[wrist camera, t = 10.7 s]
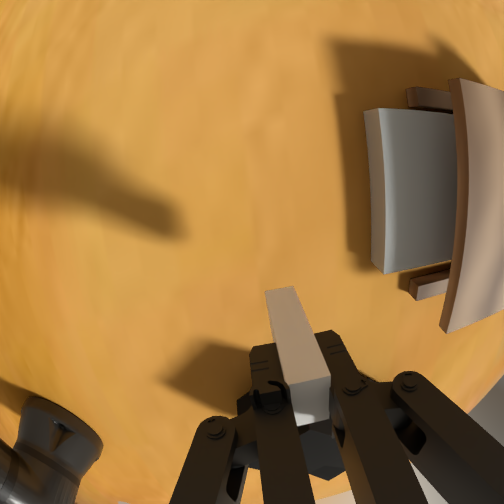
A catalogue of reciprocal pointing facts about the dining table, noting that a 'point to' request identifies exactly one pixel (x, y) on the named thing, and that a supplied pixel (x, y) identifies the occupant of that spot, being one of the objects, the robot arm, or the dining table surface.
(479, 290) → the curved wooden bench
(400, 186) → the tile
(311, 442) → the toy
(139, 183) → the dining table surface
